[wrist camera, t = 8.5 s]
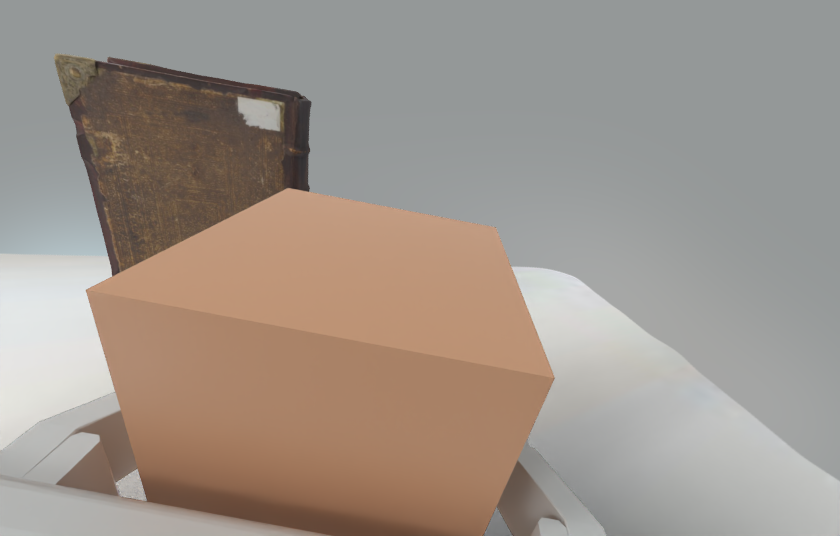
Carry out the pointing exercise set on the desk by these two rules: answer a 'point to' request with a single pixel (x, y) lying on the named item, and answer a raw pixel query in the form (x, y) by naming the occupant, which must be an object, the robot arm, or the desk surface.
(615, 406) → the desk surface
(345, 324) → the block
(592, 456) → the desk surface
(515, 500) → the robot arm
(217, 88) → the book
